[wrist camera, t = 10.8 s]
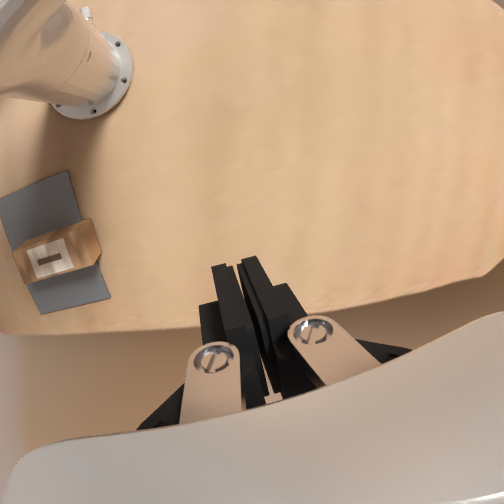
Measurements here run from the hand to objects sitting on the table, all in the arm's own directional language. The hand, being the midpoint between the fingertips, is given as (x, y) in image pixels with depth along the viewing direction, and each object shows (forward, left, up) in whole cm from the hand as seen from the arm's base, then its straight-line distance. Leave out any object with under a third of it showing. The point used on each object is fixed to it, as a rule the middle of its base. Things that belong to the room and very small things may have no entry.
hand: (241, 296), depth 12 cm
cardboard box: (+4, -16, -29) cm, 34 cm away
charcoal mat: (+4, -25, -32) cm, 41 cm away
